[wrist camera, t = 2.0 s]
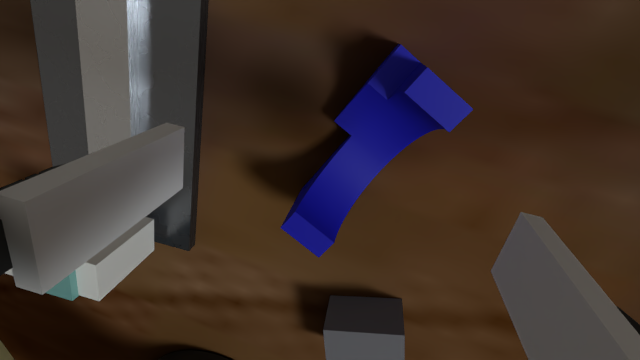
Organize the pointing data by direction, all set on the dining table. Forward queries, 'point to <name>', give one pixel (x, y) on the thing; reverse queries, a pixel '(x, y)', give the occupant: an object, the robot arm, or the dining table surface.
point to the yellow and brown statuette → (4, 353)
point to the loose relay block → (364, 328)
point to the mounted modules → (108, 264)
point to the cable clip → (372, 142)
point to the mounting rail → (125, 85)
